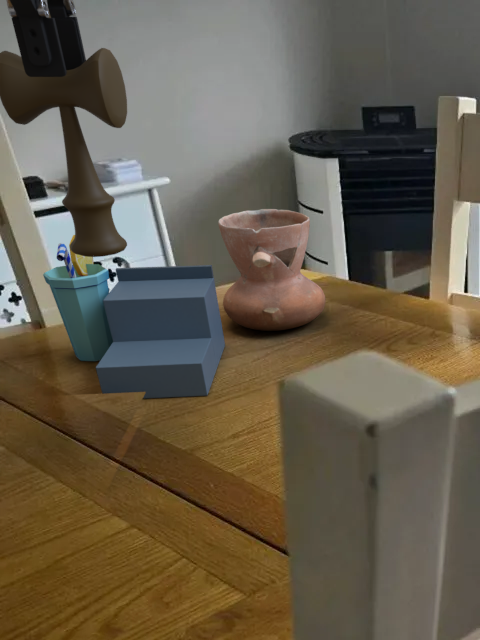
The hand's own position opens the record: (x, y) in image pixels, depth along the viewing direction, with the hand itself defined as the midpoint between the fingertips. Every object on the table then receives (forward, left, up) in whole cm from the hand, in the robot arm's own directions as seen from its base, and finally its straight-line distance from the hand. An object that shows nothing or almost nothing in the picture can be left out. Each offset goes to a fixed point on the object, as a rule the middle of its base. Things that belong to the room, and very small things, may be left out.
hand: (58, 71), depth 71 cm
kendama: (0, 0, -15) cm, 15 cm away
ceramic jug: (+12, +36, -33) cm, 51 cm away
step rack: (0, +18, -33) cm, 38 cm away
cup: (-11, +24, -33) cm, 43 cm away
